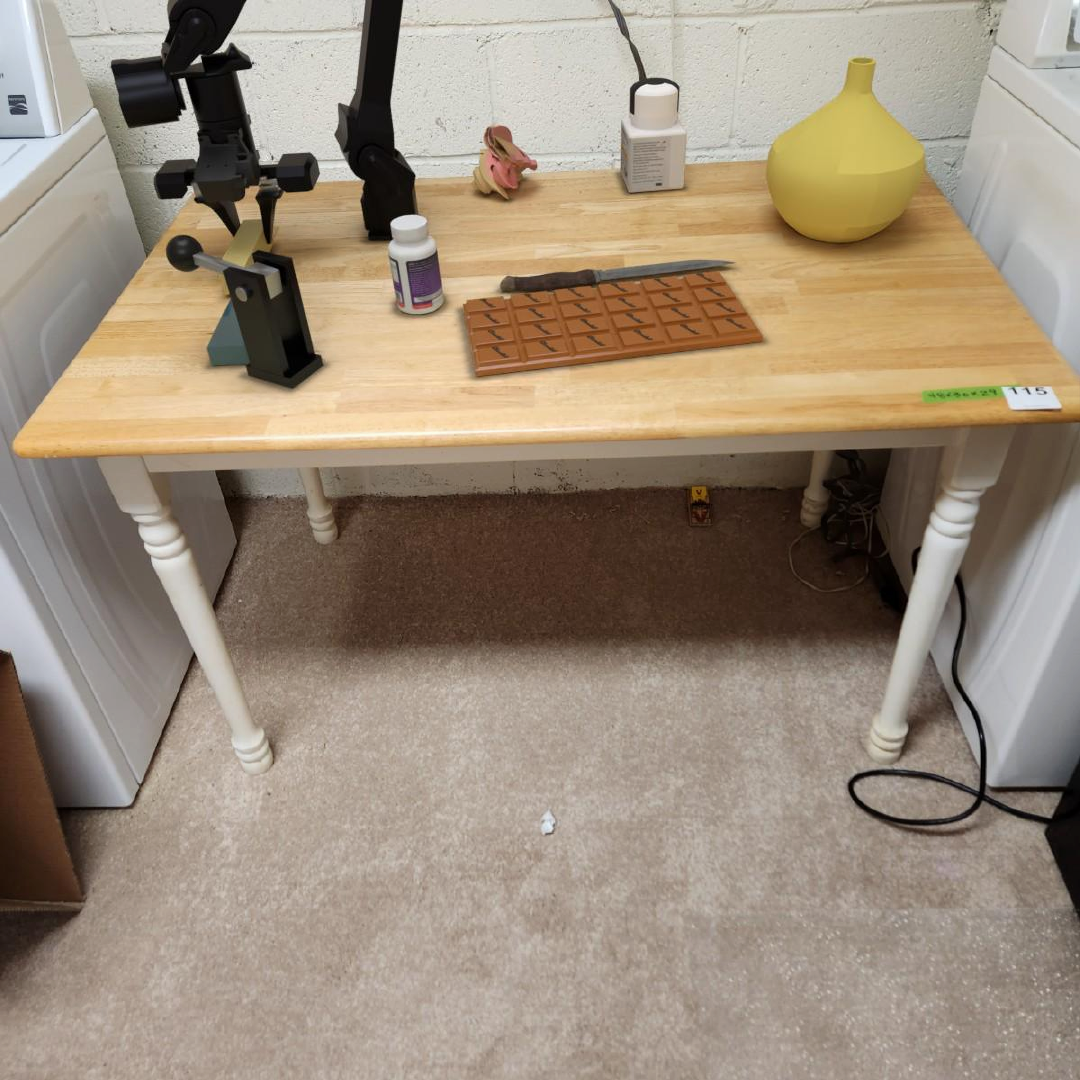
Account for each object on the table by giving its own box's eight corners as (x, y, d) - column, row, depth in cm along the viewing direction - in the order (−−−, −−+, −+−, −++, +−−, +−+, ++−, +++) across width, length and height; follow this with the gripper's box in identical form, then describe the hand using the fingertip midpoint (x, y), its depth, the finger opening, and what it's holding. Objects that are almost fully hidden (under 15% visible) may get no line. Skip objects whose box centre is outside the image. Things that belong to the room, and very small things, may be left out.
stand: (244, 377, 95) (212, 271, 88) (283, 350, 99) (255, 246, 91) (289, 391, 93) (260, 283, 85) (326, 362, 97) (302, 256, 89)
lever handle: (162, 272, 93) (153, 238, 91) (188, 257, 96) (180, 224, 93) (264, 310, 89) (257, 276, 87) (288, 294, 91) (283, 260, 89)
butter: (249, 243, 119) (243, 219, 117) (274, 242, 119) (268, 218, 117) (223, 294, 109) (216, 269, 107) (250, 293, 109) (243, 267, 106)
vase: (847, 273, 106) (881, 97, 93) (729, 226, 117) (744, 62, 104) (940, 226, 114) (983, 58, 102) (821, 186, 125) (846, 30, 112)
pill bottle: (451, 296, 107) (441, 214, 100) (432, 318, 103) (421, 234, 97) (409, 290, 108) (396, 209, 102) (389, 312, 104) (374, 229, 98)
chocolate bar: (463, 309, 104) (462, 297, 103) (720, 279, 107) (721, 267, 106) (476, 376, 93) (475, 364, 93) (761, 341, 96) (763, 329, 95)
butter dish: (286, 298, 108) (281, 281, 107) (260, 363, 97) (255, 345, 96) (242, 300, 108) (237, 283, 107) (211, 366, 98) (205, 347, 96)
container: (620, 173, 132) (621, 75, 124) (673, 168, 133) (678, 71, 124) (628, 193, 127) (630, 93, 118) (684, 189, 127) (690, 88, 118)
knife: (729, 258, 111) (730, 247, 110) (738, 271, 108) (739, 260, 107) (498, 285, 108) (497, 274, 107) (502, 298, 106) (501, 287, 105)
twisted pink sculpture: (475, 211, 126) (446, 147, 126) (507, 220, 135) (481, 160, 135) (529, 175, 122) (499, 108, 122) (559, 186, 131) (532, 124, 130)
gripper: (118, 143, 100) (164, 276, 111) (288, 133, 100) (318, 268, 110) (149, 110, 109) (189, 237, 119) (306, 101, 108) (332, 229, 119)
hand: (255, 243), depth 117 cm, fingers closed on butter, 3 cm apart
